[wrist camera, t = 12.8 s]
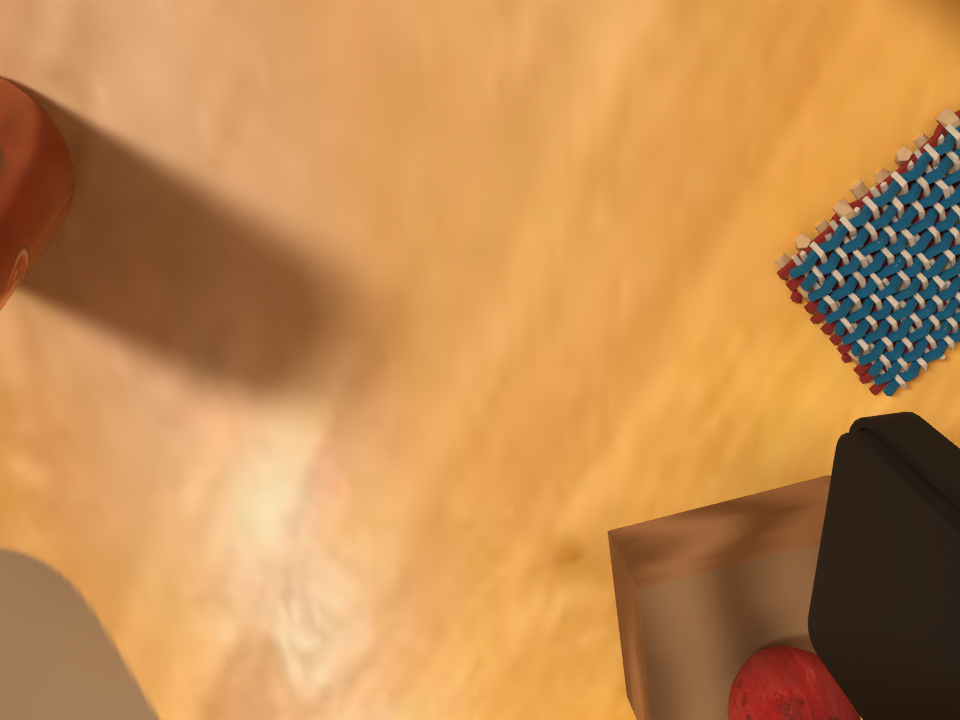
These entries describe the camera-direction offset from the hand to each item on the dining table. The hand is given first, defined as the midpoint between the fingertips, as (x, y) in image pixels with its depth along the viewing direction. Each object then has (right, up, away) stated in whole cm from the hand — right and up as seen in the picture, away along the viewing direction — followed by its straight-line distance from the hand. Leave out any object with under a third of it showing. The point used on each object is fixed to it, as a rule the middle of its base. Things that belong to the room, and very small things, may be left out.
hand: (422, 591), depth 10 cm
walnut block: (+14, -10, +41) cm, 44 cm away
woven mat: (+20, +7, +34) cm, 40 cm away
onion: (+15, -12, +36) cm, 41 cm away
